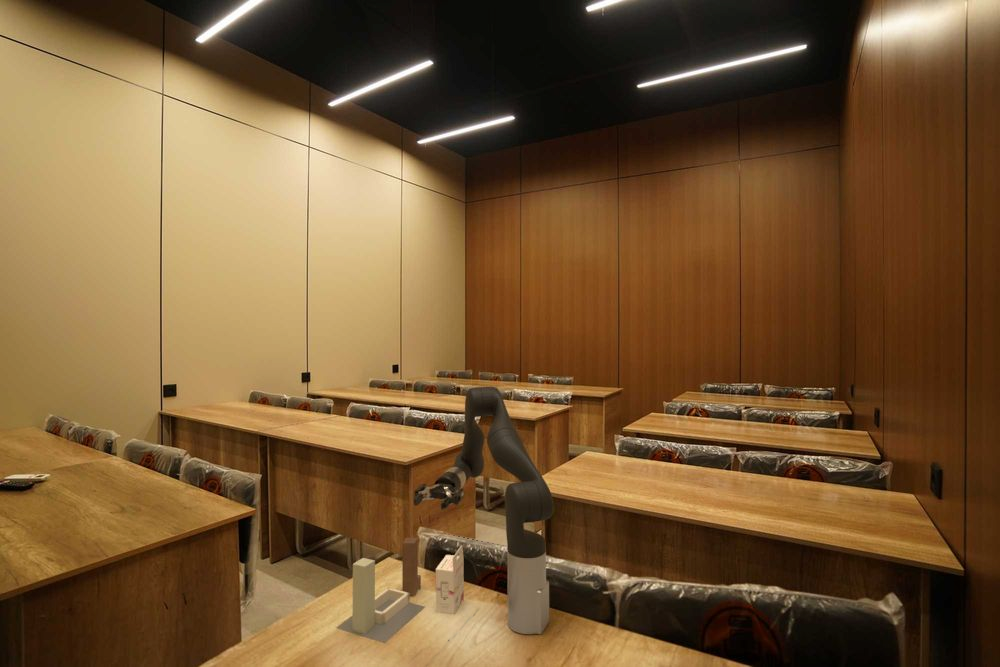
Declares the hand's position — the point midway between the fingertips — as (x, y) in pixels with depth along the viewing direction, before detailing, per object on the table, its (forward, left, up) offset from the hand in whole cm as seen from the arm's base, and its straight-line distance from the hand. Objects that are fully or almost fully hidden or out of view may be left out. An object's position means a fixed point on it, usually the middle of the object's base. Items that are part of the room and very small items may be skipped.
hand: (428, 504), depth 137 cm
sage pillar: (-1, +29, -19) cm, 35 cm away
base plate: (-2, +24, -21) cm, 31 cm away
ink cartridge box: (-14, +12, -21) cm, 28 cm away
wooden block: (-1, +10, -21) cm, 23 cm away
